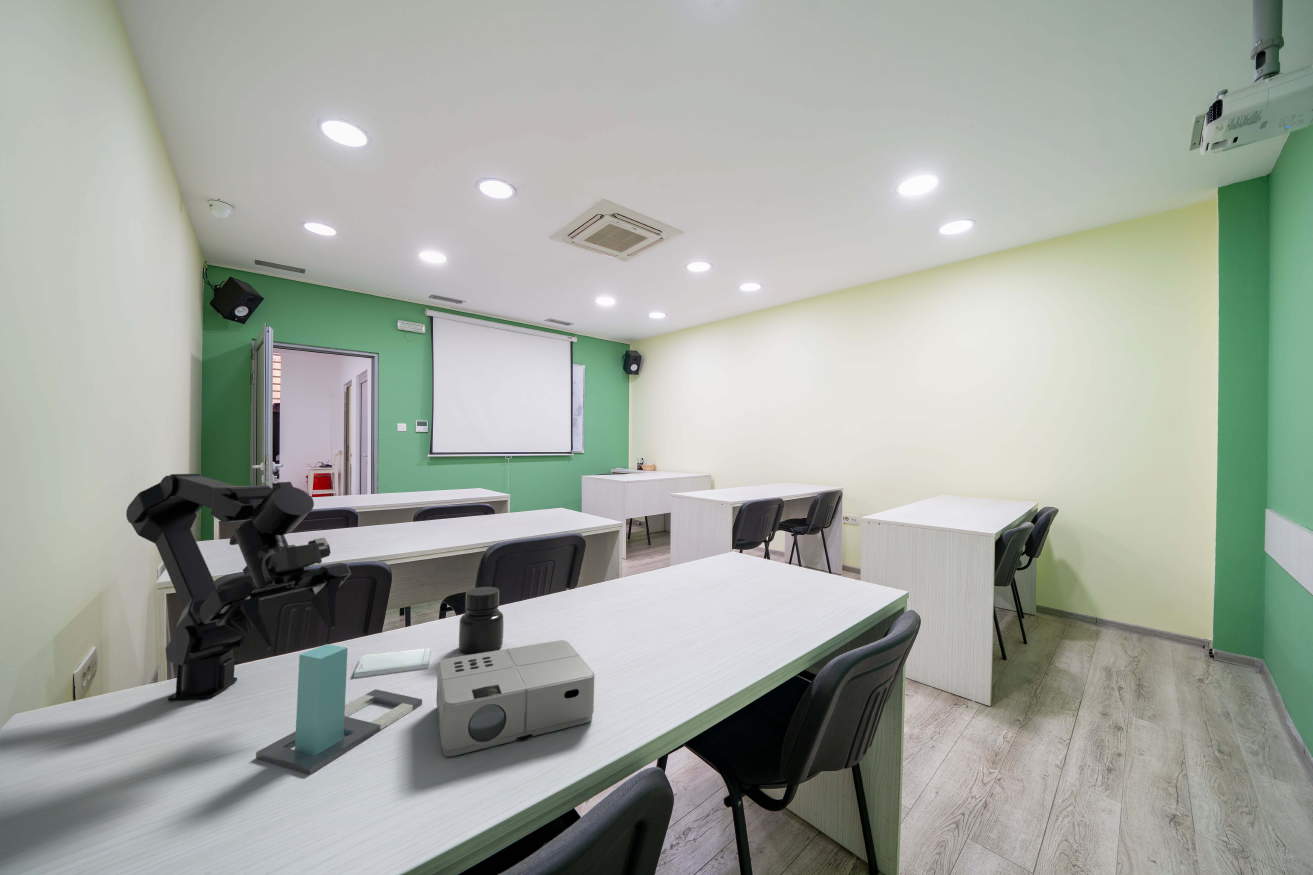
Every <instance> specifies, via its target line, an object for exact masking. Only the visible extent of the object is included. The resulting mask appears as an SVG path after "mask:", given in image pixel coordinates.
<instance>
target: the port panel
mask: <svg viewBox="0 0 1313 875" xmlns="http://www.w3.org/2000/svg"><path fill="white" fill-rule="evenodd" d="M372 703H379V704H383V705H387V706H393V707H394V708H392V709H390V710H388V711H386V712H385V713H384V714H382V715H381V716H379V717H377V718H375V719H373V720H372V721H366V720H361V719H358V718H353V717H349V716H351V715H353V714H354V713H356V712H358V711H360V710H362V709H364V708H365V707H367V706H369V705H371V704H372ZM422 705H423V698H418V697H413V696H408V695H404V694H400V693H399V694H398V693H394V692H390V691H386V690H380V689H376V688H375V689H373V690H372V691H369V692H368V693H366V694H363V695H362V696H360V697H358V698H356V699H354V700H352V701H351V702H349V703H347V704H346V703H345V715H344V735H346V736H345V737H343V739H342V740H340V741H338V742H337V743H335V744H333V745H332V746H330V747H328V748H327V749H325V750H323V751H322V752H320V753H318V754H317V755H315V756H314V755H310V754H307V753H303V752H300V751H296V750H295V749H292V748H293V747H295V737H296V730H295V731H293V732H292V733H290V734H288V735H286V736H284V737H282V738H281V739H279V740H276V741H275V742H272V743H271V744H269V745H267V746H265V747H263V748H261V749H259V750H257V751H256V752H255V759H257V760H260V761H264V762H267V763H270V764H274V765H277V766H280V767H283V768H287V769H290V770H293V771H297V772H299V773H303V774H307V775H309V776H310V775H312V774H314V773H315V772H317V771H318V770H320V769H322V768H323V767H325V766H326V765H328V764H329V763H331V762H332V761H334V760H336V759H338V758H339V757H340V756H342V755H343V754H344V755H345V754H346V753H347V752H348V751H350V750H352V749H353V748H355V747H357V746H358V745H360V744H362V743H363V742H365V741H366V740H368V739H369V738H370V737H371V738H372V736H374V735H376V734H377V733H379V732H380V731H382V730H384V729H385V728H386V727H388V726H390V725H391V724H393V723H395V722H396V721H398V720H399V719H402V717H404V716H405V715H407V714H409V713H410V712H412V711H413V710H415V709H417V708H418V707H420V706H422Z"/></svg>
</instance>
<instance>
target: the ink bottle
mask: <svg viewBox="0 0 1313 875" xmlns="http://www.w3.org/2000/svg"><path fill="white" fill-rule="evenodd" d="M464 602H465V604H464V605H465V613H463V614H462V615H461V617H460V619H459V623H458V624H459V626H458V627H459V630H458V650H459V651H460V653H461V654H465V655H472V654H478V653H484V652H491V651H497V650H500V648H501V647H502V645H503V642H504V641H503V639H504V622H505V621H504V614H503V612H502V611H500V610H499V606H500V589H499V588H498V587H494V586H482V587H480V586H479V587H474V588H469V590H468V589H467V591H465V601H464Z"/></svg>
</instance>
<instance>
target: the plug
mask: <svg viewBox="0 0 1313 875" xmlns="http://www.w3.org/2000/svg"><path fill="white" fill-rule="evenodd" d="M347 667H348V647H345V646H339V645H334V644H328V643H326V644H324V645H323V644H322V645H321V646H318V647H316V648H313V649H311V650H308V651H305V652H303V653H300V654H299V660H298V678H297V680H298V681H297V699H296V700H297V701H296V702H297V703H296V719H295V720H296V722H295V731H296V737H295V746H294V750H296V751H299V752H303V753H306V754H310V755H313V756H315V755H317V754H318V753H320V752H322V751H323V750H325V749H327V748H328V747H330V746H332V745H333V744H335V743H337V742H338V741H340V740H342V739H343V738H345V737H344V735H345V734H344V715H345V705H346V689H347V671H348V670H347Z"/></svg>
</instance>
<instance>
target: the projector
mask: <svg viewBox="0 0 1313 875" xmlns="http://www.w3.org/2000/svg"><path fill="white" fill-rule="evenodd" d="M436 678H437V680H436V708H437V709H436V710H437V720H438V729H439V736H440V737H439V738H440V746H441V752H442V755H443V756H446V757H448V758H449V757H455V756H459V755H463V754H467V753H471V752H474V751H479V750H484V749H487V748H492V747H495V746H498V745H504V744H507V743H512V742H516V741H527V740H528V739H530V738H531V737H535V736H540V735H543V734H547V733H552V732H555V731H560V730H564V729H567V728H571V727H575V726H579V725H583V724H586V723H587V724H588V723H589V722H591V721H592V720H593V714H594V708H595V706H594V705H595V704H594V703H595V672H594V671H593V670H592V668H591V667H590V666H589V665H588V664H587V662H586V661H585V660H584V659H583V658H582V657H581V655H580V654H579V653H578V652H577V650H576V649H575V648H574V647H573V646H572V645H571V643H570V642H569V641H567V640H562V639H559V640H554V641H547V642H541V643H535V644H528V645H522V646H516V647H511V648H510V647H509V648H506V649H505V648H504V649H497V650H496V651H491V652H484V653H478V654H472V655H470V654H465V655H461V656H456V657H455V656H454V657H448V658H444V659H442V660H441V661H439V662H438V664H437V677H436Z"/></svg>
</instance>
